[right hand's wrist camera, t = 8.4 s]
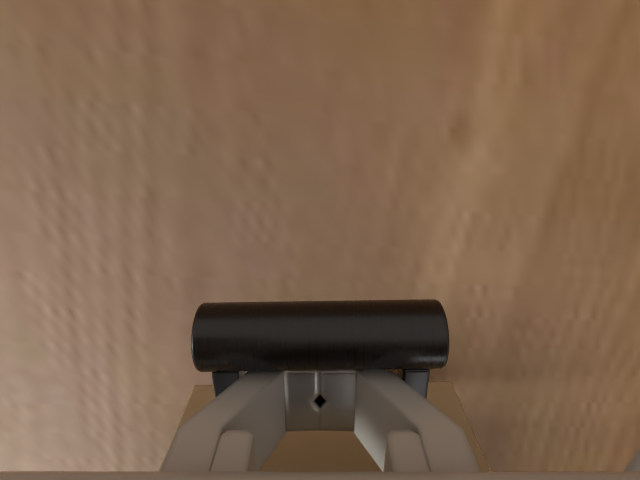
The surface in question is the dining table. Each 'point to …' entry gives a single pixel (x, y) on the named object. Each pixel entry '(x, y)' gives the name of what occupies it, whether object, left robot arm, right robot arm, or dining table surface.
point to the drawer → (325, 363)
